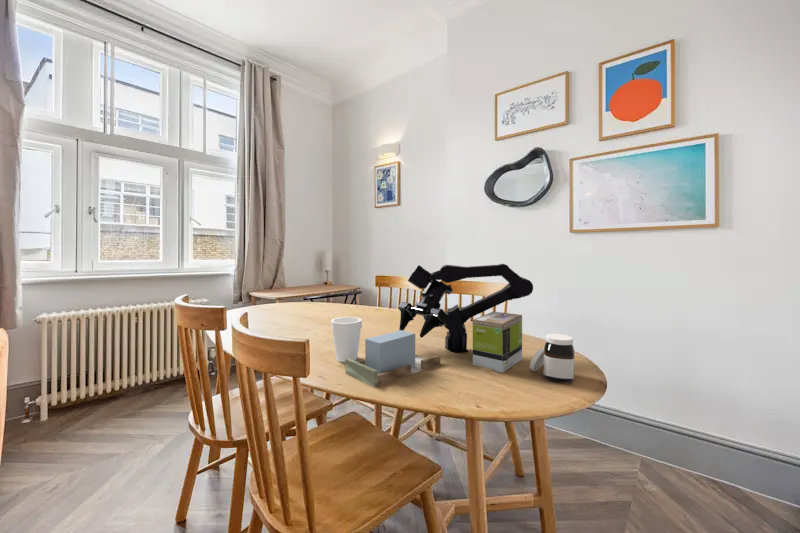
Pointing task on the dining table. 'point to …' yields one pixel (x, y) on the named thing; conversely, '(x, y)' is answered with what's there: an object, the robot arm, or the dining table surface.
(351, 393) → the dining table surface
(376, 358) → the slate box
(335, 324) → the foam cup
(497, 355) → the tea box
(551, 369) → the spread jar
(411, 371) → the lane
